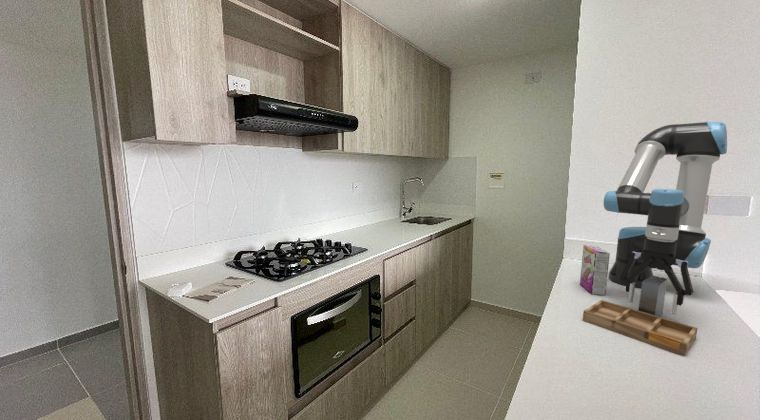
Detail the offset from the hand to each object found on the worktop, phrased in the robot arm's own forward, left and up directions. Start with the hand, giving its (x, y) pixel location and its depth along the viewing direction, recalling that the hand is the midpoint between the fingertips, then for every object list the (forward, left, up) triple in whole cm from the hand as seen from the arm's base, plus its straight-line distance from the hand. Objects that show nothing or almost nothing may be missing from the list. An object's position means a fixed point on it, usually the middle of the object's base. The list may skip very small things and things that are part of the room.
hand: (651, 307), depth 101 cm
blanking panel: (0, 0, -3) cm, 3 cm away
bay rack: (+14, 0, -3) cm, 14 cm away
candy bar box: (-10, -20, -3) cm, 23 cm away
